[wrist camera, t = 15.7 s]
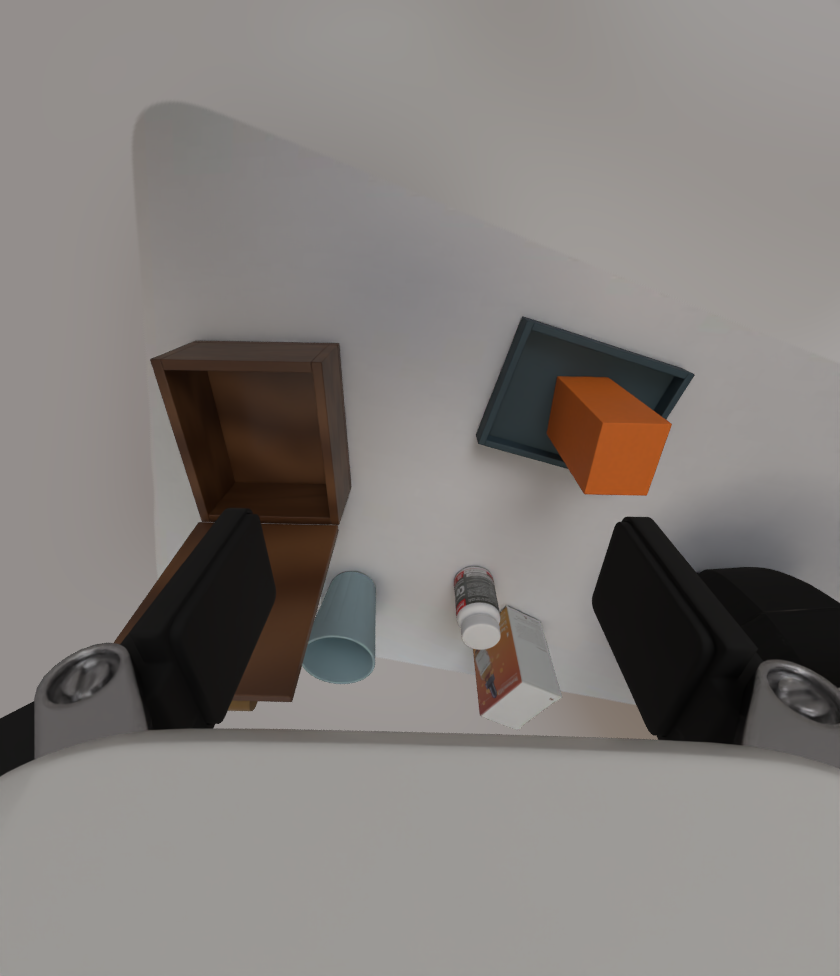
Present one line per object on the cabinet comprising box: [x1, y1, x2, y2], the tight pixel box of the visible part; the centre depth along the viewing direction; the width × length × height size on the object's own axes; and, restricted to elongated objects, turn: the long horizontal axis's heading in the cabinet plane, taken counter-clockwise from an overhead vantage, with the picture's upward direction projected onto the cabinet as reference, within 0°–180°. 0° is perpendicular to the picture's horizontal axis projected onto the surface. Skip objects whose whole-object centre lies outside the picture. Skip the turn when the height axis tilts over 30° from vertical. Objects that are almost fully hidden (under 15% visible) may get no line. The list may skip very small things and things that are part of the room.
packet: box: [547, 376, 672, 496], centre depth 33 cm, size 6×4×11 cm
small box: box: [473, 606, 562, 730], centre depth 49 cm, size 8×6×10 cm
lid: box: [114, 522, 339, 711], centre depth 32 cm, size 15×13×5 cm
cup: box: [302, 572, 376, 684], centre depth 46 cm, size 8×8×10 cm
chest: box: [150, 341, 351, 525], centre depth 36 cm, size 15×13×7 cm
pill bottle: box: [454, 567, 501, 650], centre depth 46 cm, size 5×5×8 cm
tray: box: [476, 317, 694, 469], centre depth 37 cm, size 15×11×2 cm
